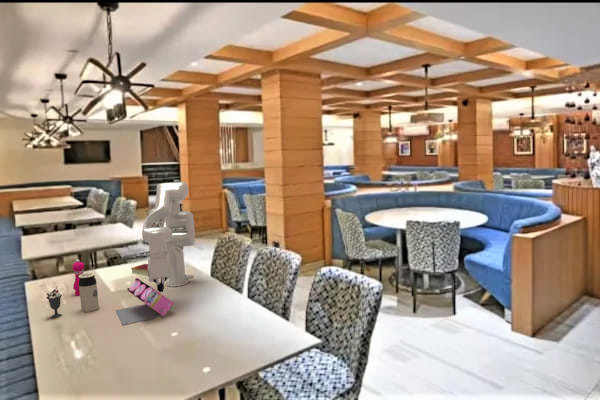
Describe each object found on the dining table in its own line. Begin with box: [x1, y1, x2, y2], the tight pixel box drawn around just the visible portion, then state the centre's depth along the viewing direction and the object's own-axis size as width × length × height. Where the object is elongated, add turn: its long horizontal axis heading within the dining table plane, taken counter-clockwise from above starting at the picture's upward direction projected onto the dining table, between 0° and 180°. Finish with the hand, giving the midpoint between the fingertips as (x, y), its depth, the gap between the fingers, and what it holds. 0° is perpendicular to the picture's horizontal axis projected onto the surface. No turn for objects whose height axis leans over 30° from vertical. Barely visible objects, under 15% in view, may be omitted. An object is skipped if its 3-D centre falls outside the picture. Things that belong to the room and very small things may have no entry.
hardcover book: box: [130, 263, 148, 276], centre depth 284 cm, size 12×21×4 cm, turn 61°
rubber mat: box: [115, 303, 159, 326], centre depth 213 cm, size 16×22×1 cm
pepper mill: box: [72, 259, 85, 297], centre depth 245 cm, size 7×7×20 cm
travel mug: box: [79, 272, 100, 313], centre depth 220 cm, size 8×8×18 cm
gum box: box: [126, 277, 175, 317], centre depth 215 cm, size 24×8×14 cm
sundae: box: [46, 287, 63, 319], centre depth 213 cm, size 7×7×15 cm
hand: (160, 291), depth 217 cm, fingers closed
